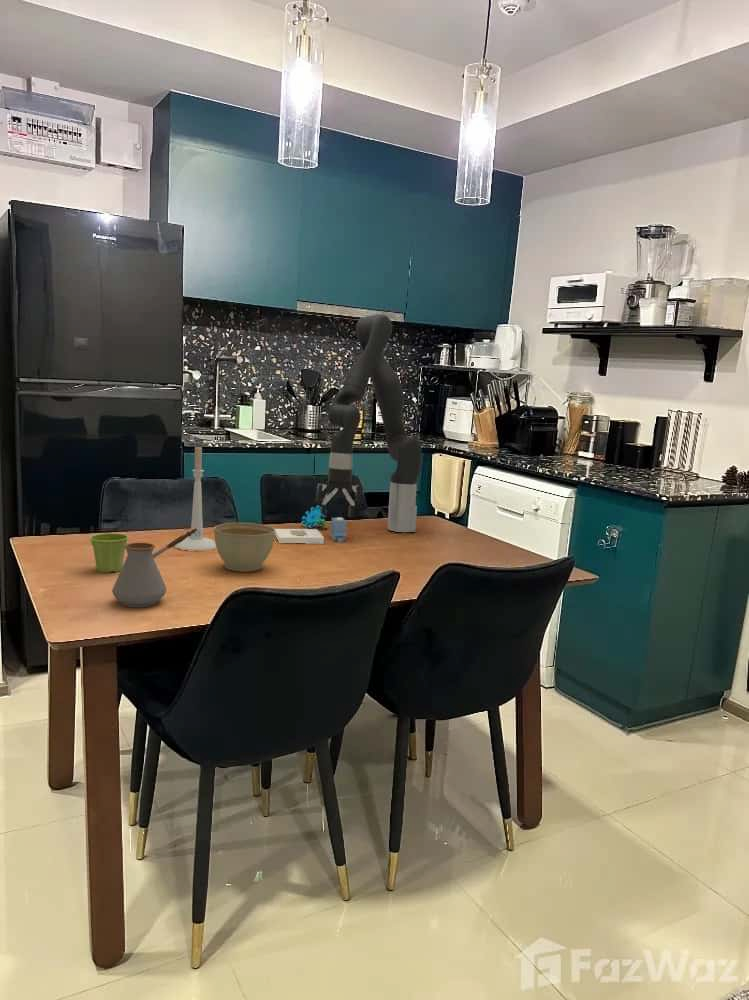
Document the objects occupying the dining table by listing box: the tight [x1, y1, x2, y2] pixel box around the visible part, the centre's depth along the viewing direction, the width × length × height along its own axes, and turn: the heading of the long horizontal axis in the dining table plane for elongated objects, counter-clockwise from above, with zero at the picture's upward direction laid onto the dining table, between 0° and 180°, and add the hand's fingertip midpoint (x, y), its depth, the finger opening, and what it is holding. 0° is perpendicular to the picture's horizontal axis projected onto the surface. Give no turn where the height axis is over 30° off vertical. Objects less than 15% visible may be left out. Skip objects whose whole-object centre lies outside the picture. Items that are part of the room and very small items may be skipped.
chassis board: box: [274, 528, 325, 545], centre depth 236 cm, size 14×13×2 cm
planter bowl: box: [213, 522, 276, 573], centre depth 196 cm, size 16×16×11 cm
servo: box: [329, 516, 347, 543], centre depth 239 cm, size 4×9×7 cm, turn 14°
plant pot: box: [89, 532, 129, 573], centre depth 187 cm, size 9×9×9 cm
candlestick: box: [175, 445, 216, 550], centre depth 216 cm, size 13×13×30 cm
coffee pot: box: [111, 528, 200, 608], centre depth 166 cm, size 21×12×15 cm, turn 140°
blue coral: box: [301, 505, 328, 529], centre depth 256 cm, size 11×6×10 cm
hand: (337, 516), depth 239 cm, fingers open, 8 cm apart
